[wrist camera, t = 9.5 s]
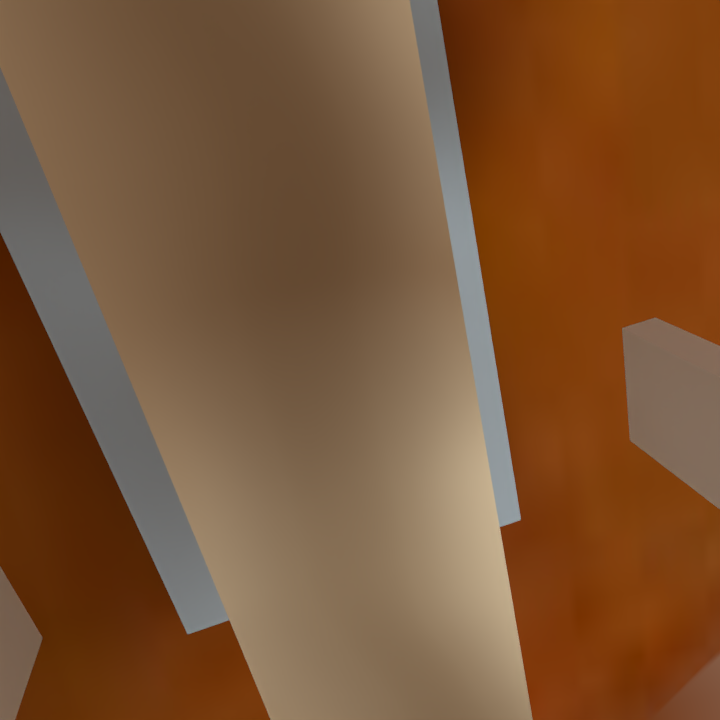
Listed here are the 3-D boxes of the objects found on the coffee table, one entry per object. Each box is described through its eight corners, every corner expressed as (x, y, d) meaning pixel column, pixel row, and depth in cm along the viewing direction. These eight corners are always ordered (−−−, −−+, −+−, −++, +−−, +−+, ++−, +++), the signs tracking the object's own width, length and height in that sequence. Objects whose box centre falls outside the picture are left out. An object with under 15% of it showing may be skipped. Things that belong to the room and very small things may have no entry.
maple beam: (317, 691, 21) (361, 939, 15) (45, -62, 13) (-133, -253, 6) (456, 642, 22) (556, 859, 15) (286, -112, 13) (352, -336, 7)
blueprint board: (188, 614, 29) (179, 788, 21) (-103, -24, 19) (-319, -122, 11) (509, 505, 31) (605, 629, 23) (402, -134, 20) (510, -282, 13)
